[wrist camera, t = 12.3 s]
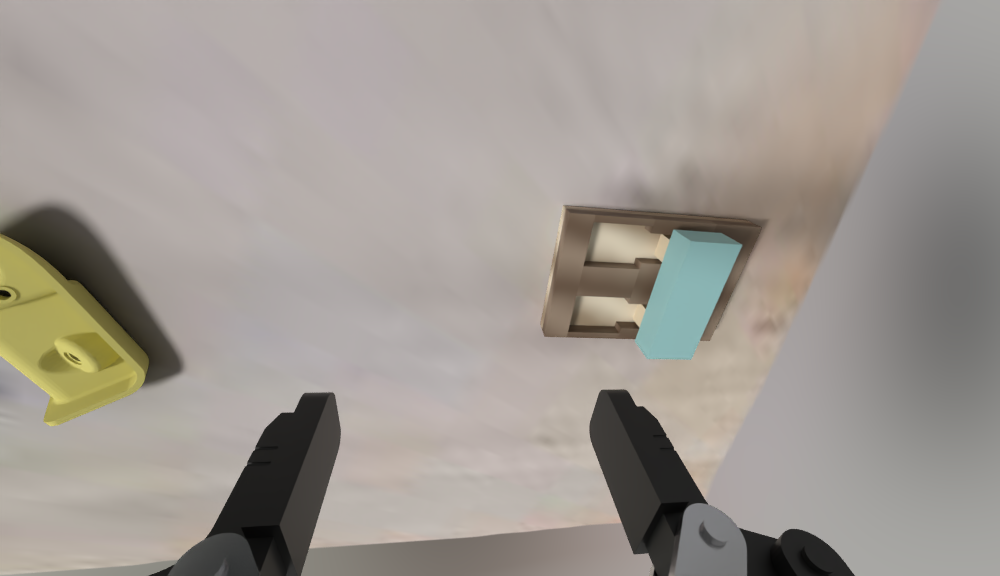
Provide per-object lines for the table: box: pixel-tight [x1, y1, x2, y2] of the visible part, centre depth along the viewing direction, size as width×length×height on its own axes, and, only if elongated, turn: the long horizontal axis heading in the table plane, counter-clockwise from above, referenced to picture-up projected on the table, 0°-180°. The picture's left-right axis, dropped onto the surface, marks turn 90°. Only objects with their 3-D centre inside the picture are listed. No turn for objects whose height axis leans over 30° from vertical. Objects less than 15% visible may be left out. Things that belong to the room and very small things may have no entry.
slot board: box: [540, 206, 762, 341], centre depth 40 cm, size 14×20×2 cm
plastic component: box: [0, 234, 149, 426], centre depth 34 cm, size 20×7×10 cm
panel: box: [633, 230, 742, 360], centre depth 38 cm, size 13×5×6 cm, turn 174°
